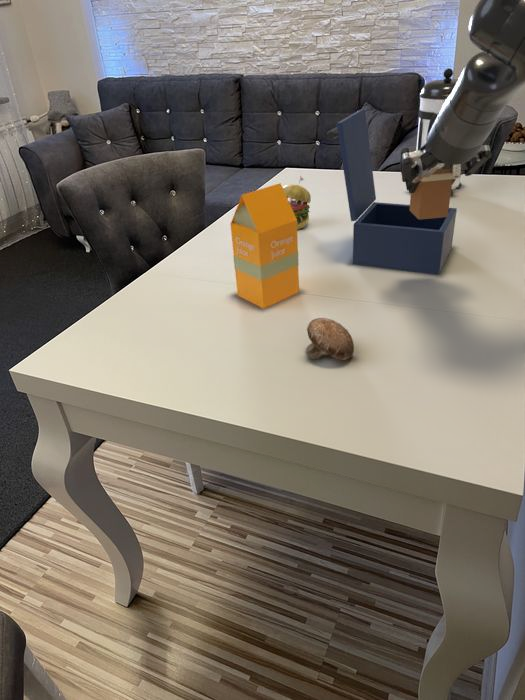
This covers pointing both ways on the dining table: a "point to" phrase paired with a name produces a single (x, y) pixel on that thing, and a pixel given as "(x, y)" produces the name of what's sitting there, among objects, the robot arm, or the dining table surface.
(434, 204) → the carton
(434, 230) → the dark blue open box
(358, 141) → the navy box lid
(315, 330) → the mushroom
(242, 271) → the orange juice
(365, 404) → the dining table surface
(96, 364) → the dining table surface
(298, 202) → the hamburger
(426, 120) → the coffee press
